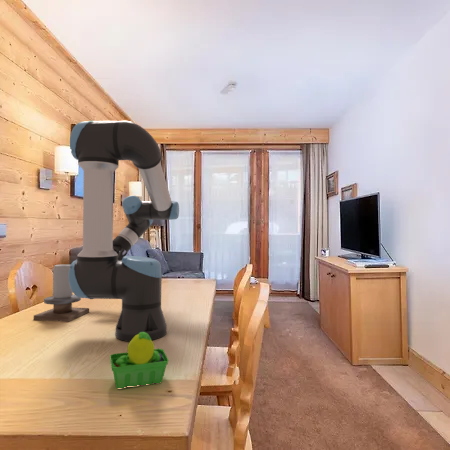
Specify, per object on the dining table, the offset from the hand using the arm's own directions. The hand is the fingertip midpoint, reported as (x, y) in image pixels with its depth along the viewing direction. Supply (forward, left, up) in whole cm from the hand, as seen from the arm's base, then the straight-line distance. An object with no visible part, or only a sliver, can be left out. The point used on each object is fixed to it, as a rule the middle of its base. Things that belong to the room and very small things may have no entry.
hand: (89, 281), depth 127 cm
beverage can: (-8, +6, -5) cm, 11 cm away
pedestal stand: (-8, +5, -11) cm, 15 cm away
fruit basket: (-52, -43, -12) cm, 68 cm away
